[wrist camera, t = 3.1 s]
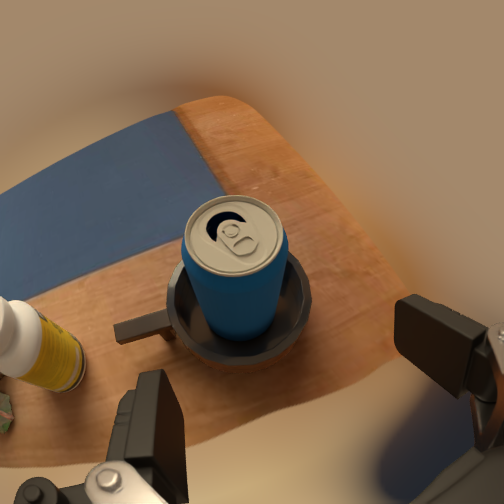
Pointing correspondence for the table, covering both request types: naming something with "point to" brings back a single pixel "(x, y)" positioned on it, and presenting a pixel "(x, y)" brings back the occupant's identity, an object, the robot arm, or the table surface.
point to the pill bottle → (38, 349)
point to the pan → (240, 352)
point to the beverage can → (236, 264)
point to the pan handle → (145, 327)
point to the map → (5, 413)
